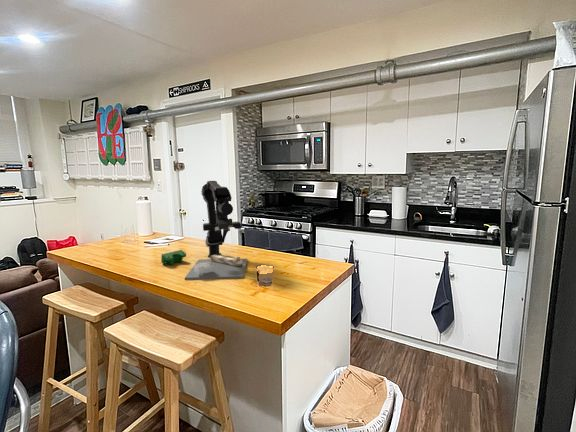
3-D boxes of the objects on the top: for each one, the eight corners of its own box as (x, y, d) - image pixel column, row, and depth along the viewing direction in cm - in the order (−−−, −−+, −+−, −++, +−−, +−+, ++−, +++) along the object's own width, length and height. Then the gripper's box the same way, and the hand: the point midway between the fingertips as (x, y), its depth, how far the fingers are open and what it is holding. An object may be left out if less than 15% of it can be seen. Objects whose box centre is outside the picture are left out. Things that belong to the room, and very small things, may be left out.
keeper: (208, 271, 151) (208, 261, 150) (214, 275, 146) (214, 264, 145) (193, 275, 147) (192, 264, 146) (199, 279, 141) (198, 268, 140)
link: (244, 264, 158) (244, 256, 157) (239, 266, 154) (238, 258, 154) (215, 258, 168) (214, 251, 168) (209, 260, 165) (209, 253, 164)
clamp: (170, 273, 162) (164, 260, 157) (164, 268, 166) (158, 256, 161) (189, 260, 169) (185, 248, 164) (183, 256, 173) (178, 243, 168)
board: (198, 261, 168) (198, 259, 168) (247, 260, 170) (247, 258, 170) (184, 279, 141) (184, 277, 141) (243, 278, 142) (242, 276, 142)
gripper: (203, 215, 147) (204, 247, 150) (242, 213, 153) (243, 244, 155) (202, 212, 158) (203, 242, 160) (239, 210, 163) (240, 239, 166)
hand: (222, 242), depth 160 cm, fingers closed
